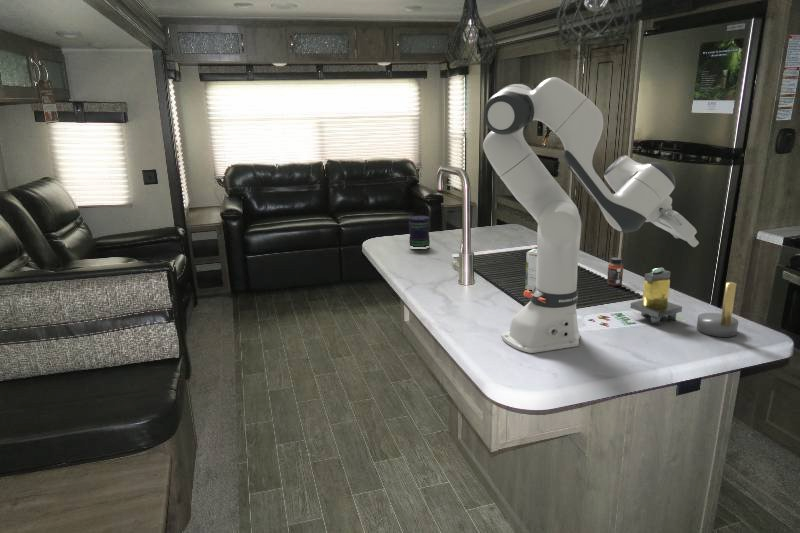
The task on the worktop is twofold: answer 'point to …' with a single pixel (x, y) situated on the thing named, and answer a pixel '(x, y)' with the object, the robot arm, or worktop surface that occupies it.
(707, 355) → the worktop surface
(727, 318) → the footscrew knob
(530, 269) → the syrup box
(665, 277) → the stand
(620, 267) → the supplement bottle
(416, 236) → the storage jar
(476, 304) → the worktop surface
